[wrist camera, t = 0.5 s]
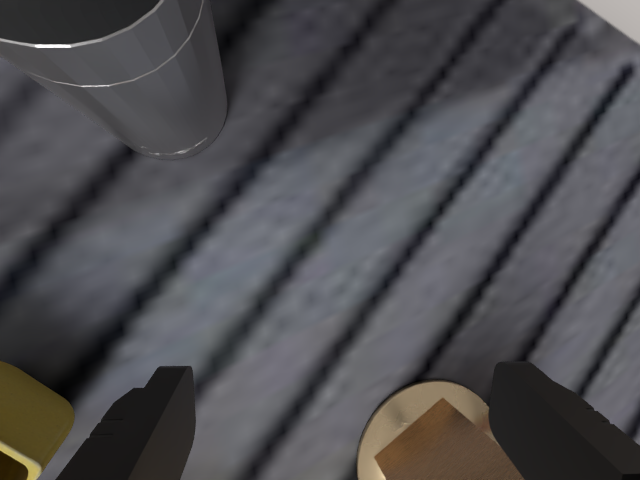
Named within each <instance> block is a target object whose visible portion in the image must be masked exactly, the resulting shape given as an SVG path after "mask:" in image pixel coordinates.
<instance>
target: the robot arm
mask: <svg viewBox="0 0 640 480" xmlns="http://www.w3.org/2000/svg"><path fill="white" fill-rule="evenodd" d="M0 57H2V58H4V59H5V60H7V61H8V62H9V63H11V64H12V65H14V66H15V67H16V68H18V69H19V70H21V71H22V72H24V73H25V74H26V75H28V76H29V77H31V78H32V79H33V80H35V81H36V82H38V83H39V84H41V85H42V86H43V87H45V88H46V89H48V90H49V91H50V92H52V93H53V94H55V95H56V96H57V97H59V98H60V99H62V100H63V101H65V102H66V103H67V104H69V105H70V106H72V107H73V108H74V109H76V110H77V111H79V112H80V113H82V114H83V115H84V116H86V117H87V118H89V119H90V120H91V121H93V122H94V123H96V124H97V125H99V126H100V127H101V128H103V129H104V130H106V131H107V132H108V133H110V134H111V135H113V136H114V137H116V138H117V139H119V140H120V141H121V142H123V143H124V144H126V145H127V146H129V147H130V148H131V149H133V150H134V151H136V152H139V153H141V154H143V155H145V156H148V157H152V158H156V159H161V160H176V159H183V158H187V157H190V156H192V155H195V154H197V153H199V152H201V151H202V150H204V149H205V148H207V147H208V146H209V145H210V144H211V143H212V142H213V141H214V140H215V139H216V138H217V136H218V134H219V133H220V131H221V129H222V128H223V125H224V122H225V119H226V115H227V105H228V104H227V96H226V89H225V83H224V77H223V71H222V65H221V59H220V54H219V48H218V43H217V37H216V32H215V26H214V20H213V15H212V9H211V4H210V0H0ZM488 419H489V425H490V429H491V431H492V434H493V436H494V438H495V439H496V441H497V442H498V444H499V445H500V446H501V448H502V449H503V451H504V452H505V453H506V455H507V456H508V457H509V459H510V460H511V462H512V463H513V464H514V466H515V467H516V468H517V470H518V471H519V473H520V474H521V475H522V477H523V478H524V479H525V480H640V445H638V444H637V443H636V442H635V441H633V440H632V439H631V438H630V437H629V436H627V435H626V434H625V433H624V432H622V431H621V430H620V429H619V428H618V427H616V426H615V425H614V424H610V422H609V420H608V419H607V418H605V417H604V416H603V415H602V414H600V413H599V412H598V411H594V408H593V407H592V406H591V405H589V404H588V403H587V402H586V401H585V400H583V399H582V398H581V397H580V396H578V395H577V394H576V393H574V392H573V391H571V390H569V389H567V388H565V387H563V386H562V385H560V384H558V383H556V382H554V381H553V380H551V379H550V378H549V377H548V376H547V375H545V374H544V373H543V372H542V371H541V370H539V369H538V368H537V367H536V366H535V365H534V364H532V363H530V362H527V361H525V362H499V363H498V364H497V365H496V366H495V369H494V376H493V383H492V390H491V397H490V404H489V411H488ZM195 425H196V417H195V399H194V381H193V370H192V368H191V366H160V367H158V368H157V370H156V371H155V373H154V374H153V376H152V377H151V378H150V380H149V381H148V383H147V384H146V386H145V387H144V388H133V389H132V390H130V391H129V392H128V393H126V394H125V395H124V396H122V397H121V398H120V399H118V400H117V401H115V402H114V403H113V405H112V406H111V407H110V409H109V410H108V411H107V412H106V414H105V415H104V416H103V418H102V419H101V423H98V424H97V426H96V427H95V428H94V430H93V431H92V432H91V434H90V437H89V438H87V439H86V440H85V442H84V443H83V444H82V445H81V447H80V448H79V449H78V451H77V452H76V453H75V455H74V456H73V457H72V459H71V460H70V461H69V463H68V464H67V465H66V467H65V468H64V469H63V471H62V472H61V473H60V474H59V476H58V477H57V478H56V480H180V478H181V475H182V473H183V470H184V467H185V464H186V462H187V459H188V456H189V453H190V451H191V448H192V444H193V440H194V435H195Z"/></svg>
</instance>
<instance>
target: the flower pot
mask: <svg viewBox="0 0 640 480" xmlns="http://www.w3.org/2000/svg"><path fill="white" fill-rule="evenodd" d="M73 423H74V410H73V408H72V406H71V405H70V403H69V402H68V401H67V400H66V399H65V398H63V397H62V396H60V395H59V394H57V393H55V392H54V391H52V390H51V389H49V388H48V387H46V386H44V385H43V384H41V383H40V382H38V381H37V380H35V379H34V378H32V377H31V376H29V375H28V374H26V373H25V372H23V371H22V370H20V369H19V368H17V367H15V366H13V365H10V364H8V363H5V362H2V361H0V480H36V479H37V478H38V477H39V476H40V475H41V473H42V472H43V470H44V469H45V467H46V466H47V464H48V463H49V462H50V460H51V459H52V457H53V456H54V454H55V453H56V451H57V450H58V448H59V447H60V446H61V444H62V443H63V441H64V440H65V438H66V437H67V435H68V434H69V432H70V430H71V428H72V426H73Z"/></svg>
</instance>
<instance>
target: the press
mask: <svg viewBox="0 0 640 480" xmlns="http://www.w3.org/2000/svg"><path fill="white" fill-rule="evenodd" d="M488 411H489V407H488V406H487V405H486V403H485V402H484V401H483V400H482V399H481V398H480V397H479V396H478V395H476V394H475V393H473V392H472V391H471V390H469V389H468V388H466V387H464V386H462V385H460V384H458V383H455V382H451V381H447V380H434V379H432V380H424V381H420V382H416V383H413V384H410V385H408V386H405V387H403V388H402V389H400V390H398V391H396V392H395V393H394V394H392V395H391V396H389V397H388V398H387V399H386V400H385V401H384V402H383V403H382V404H381V405H380V406H379V407H378V408H377V409H376V411H375V412H374V413H373V415H372V416H371V418H370V419H369V421H368V422H367V424H366V426H365V428H364V431H363V433H362V436H361V439H360V441H359V446H358V450H357V458H356V473H357V479H358V480H525V479H524V478H523V477H522V475H521V474H520V473H519V471H518V470H517V468H516V467H515V466H514V464H513V463H512V462H511V460H510V459H509V457H508V456H507V455H506V453H505V452H504V451H503V449H502V448H501V446H500V445H499V444H498V442H497V441H496V439H495V438H494V436H493V434H492V431H491V429H490V425H489V419H488Z"/></svg>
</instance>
